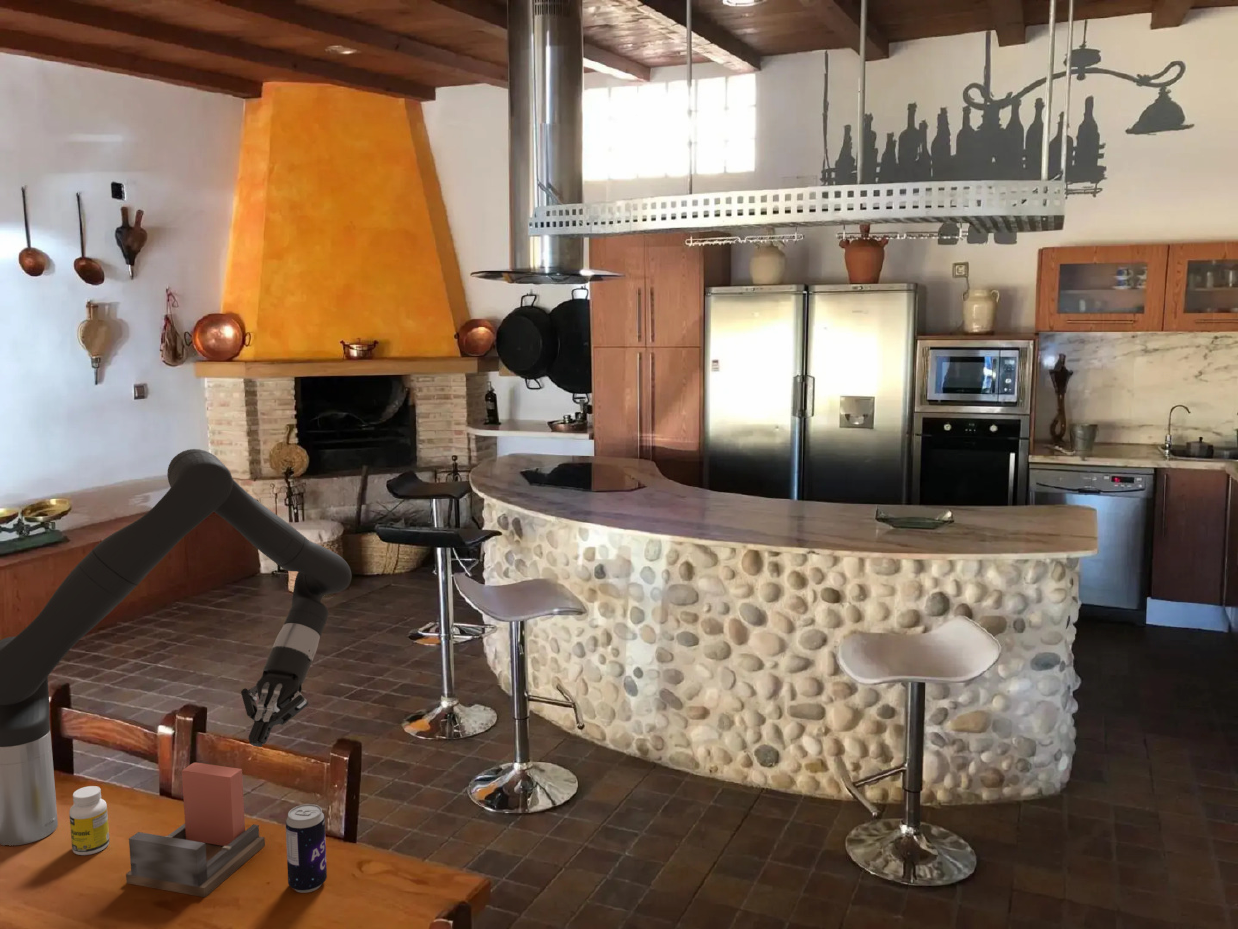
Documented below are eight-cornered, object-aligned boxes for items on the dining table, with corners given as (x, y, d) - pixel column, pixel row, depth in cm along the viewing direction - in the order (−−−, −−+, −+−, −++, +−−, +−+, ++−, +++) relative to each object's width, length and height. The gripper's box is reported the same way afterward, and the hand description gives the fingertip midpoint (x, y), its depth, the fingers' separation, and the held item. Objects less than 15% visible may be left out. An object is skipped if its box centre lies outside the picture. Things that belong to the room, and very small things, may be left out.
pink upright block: (186, 839, 159) (181, 770, 157) (198, 830, 161) (194, 762, 160) (233, 847, 156) (230, 777, 155) (245, 838, 159) (242, 769, 158)
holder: (126, 883, 149) (123, 837, 148) (191, 834, 164) (189, 792, 163) (204, 897, 146) (202, 851, 145) (264, 845, 160) (262, 803, 159)
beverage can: (315, 898, 146) (312, 823, 144) (281, 893, 147) (277, 819, 146) (333, 877, 152) (331, 805, 150) (300, 872, 153) (297, 801, 151)
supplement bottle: (64, 852, 158) (59, 795, 156) (93, 836, 163) (89, 781, 161) (88, 859, 156) (84, 802, 154) (117, 843, 161) (113, 787, 159)
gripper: (251, 641, 177) (211, 732, 167) (316, 648, 174) (279, 741, 164) (270, 659, 183) (232, 748, 173) (333, 666, 180) (298, 757, 170)
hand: (255, 745), depth 168 cm, fingers closed
